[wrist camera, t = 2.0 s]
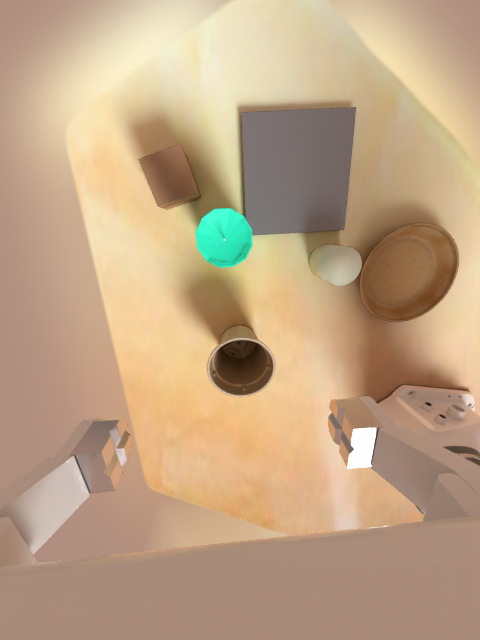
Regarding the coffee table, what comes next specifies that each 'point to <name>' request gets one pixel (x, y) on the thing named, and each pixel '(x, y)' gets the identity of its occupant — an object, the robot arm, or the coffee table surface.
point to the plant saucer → (409, 272)
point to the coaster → (297, 169)
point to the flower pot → (240, 363)
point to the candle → (224, 237)
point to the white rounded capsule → (335, 264)
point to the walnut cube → (170, 177)
